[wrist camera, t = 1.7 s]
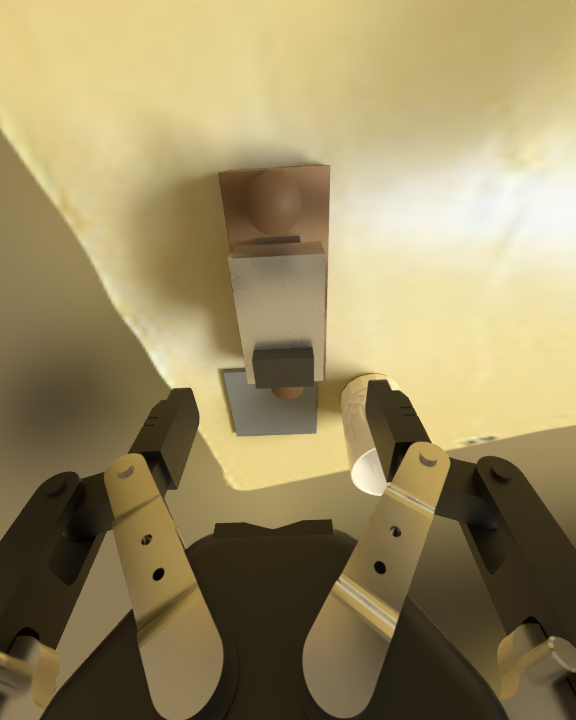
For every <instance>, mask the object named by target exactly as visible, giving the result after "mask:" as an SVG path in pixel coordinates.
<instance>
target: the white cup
mask: <svg viewBox="0 0 576 720" xmlns="http://www.w3.org/2000/svg"><path fill="white" fill-rule="evenodd" d="M380 379H386V380H387V381H388V383H389V385H390V387H391V389H392V390H400V388H399V387H398V385H397V383H396V382H395V381H393V380H392V379H390V378H389V377H388V376H385V375H379V374H369V375H364V376H360V377H358V378H356V379H355V380H353V381H351V382H349V383H348V385H347V386H346V387H345V389H344V390H343V391H342V395H341V408H342V419H343V426H344V436H345V442H346V449H347V455H348V462H349V468H350V475H351V479H352V482H353V483H354V484H355V486H356V487H358V488H359V489H360V490H362V491H364V492H366V493H369V494H372V495H378V496H382V494H383V492H384V490H385V488H386V487H387V486H390V484H391V482H389V483H387V482H386V479H385V476H384V473H383V470H382V467H381V463H380V460H379V457H378V454H377V451H376V448H375V444H374V441H373V438H372V435H371V432H370V429H369V426H368V422H367V419H366V414H365V403H366V395H367V387H368V381H369V380H380ZM400 391H401V390H400ZM425 431H426V430H425ZM428 436H429V435H428ZM429 438H430V437H429ZM430 440H431V439H430ZM431 442H432V441H431ZM432 444H433V442H432Z"/></svg>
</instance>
